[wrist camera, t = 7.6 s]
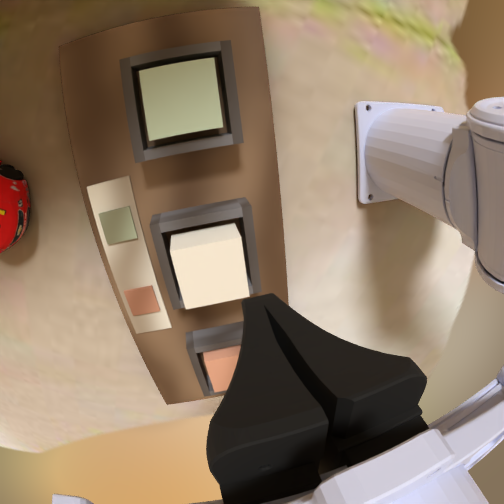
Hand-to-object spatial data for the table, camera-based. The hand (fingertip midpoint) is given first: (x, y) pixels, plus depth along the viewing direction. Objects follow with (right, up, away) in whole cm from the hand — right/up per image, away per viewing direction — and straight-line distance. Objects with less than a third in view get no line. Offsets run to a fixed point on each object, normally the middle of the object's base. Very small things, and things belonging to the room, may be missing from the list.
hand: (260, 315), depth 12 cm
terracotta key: (-2, -6, +13) cm, 14 cm away
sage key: (-5, +12, +4) cm, 13 cm away
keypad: (-5, +3, +9) cm, 11 cm away
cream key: (-3, +2, +7) cm, 8 cm away
